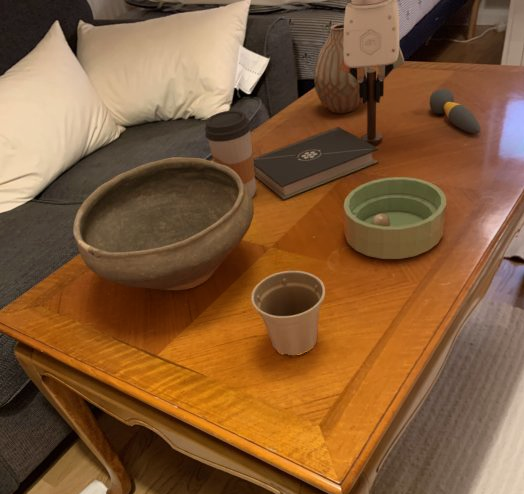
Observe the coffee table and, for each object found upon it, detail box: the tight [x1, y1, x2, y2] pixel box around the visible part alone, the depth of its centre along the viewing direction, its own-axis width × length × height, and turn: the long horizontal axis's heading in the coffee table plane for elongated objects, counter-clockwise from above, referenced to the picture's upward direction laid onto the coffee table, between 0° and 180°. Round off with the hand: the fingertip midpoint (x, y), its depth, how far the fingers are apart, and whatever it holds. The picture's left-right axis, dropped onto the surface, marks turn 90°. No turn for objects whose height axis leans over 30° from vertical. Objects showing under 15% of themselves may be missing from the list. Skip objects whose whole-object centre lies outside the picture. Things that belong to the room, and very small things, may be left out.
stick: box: [360, 68, 383, 146], centre depth 106 cm, size 4×4×14 cm
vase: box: [313, 22, 372, 114], centre depth 119 cm, size 13×13×18 cm
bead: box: [371, 214, 390, 226], centre depth 85 cm, size 3×3×3 cm
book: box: [253, 126, 379, 201], centre depth 105 cm, size 22×15×3 cm
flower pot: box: [250, 270, 326, 356], centre depth 69 cm, size 9×9×9 cm
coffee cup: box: [204, 109, 257, 198], centre depth 98 cm, size 8×8×15 cm
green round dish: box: [343, 176, 447, 260], centre depth 84 cm, size 16×16×6 cm
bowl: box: [72, 156, 255, 291], centre depth 82 cm, size 28×28×14 cm
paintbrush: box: [429, 88, 481, 135], centre depth 110 cm, size 20×5×5 cm, turn 20°
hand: (371, 99), depth 105 cm, fingers closed
